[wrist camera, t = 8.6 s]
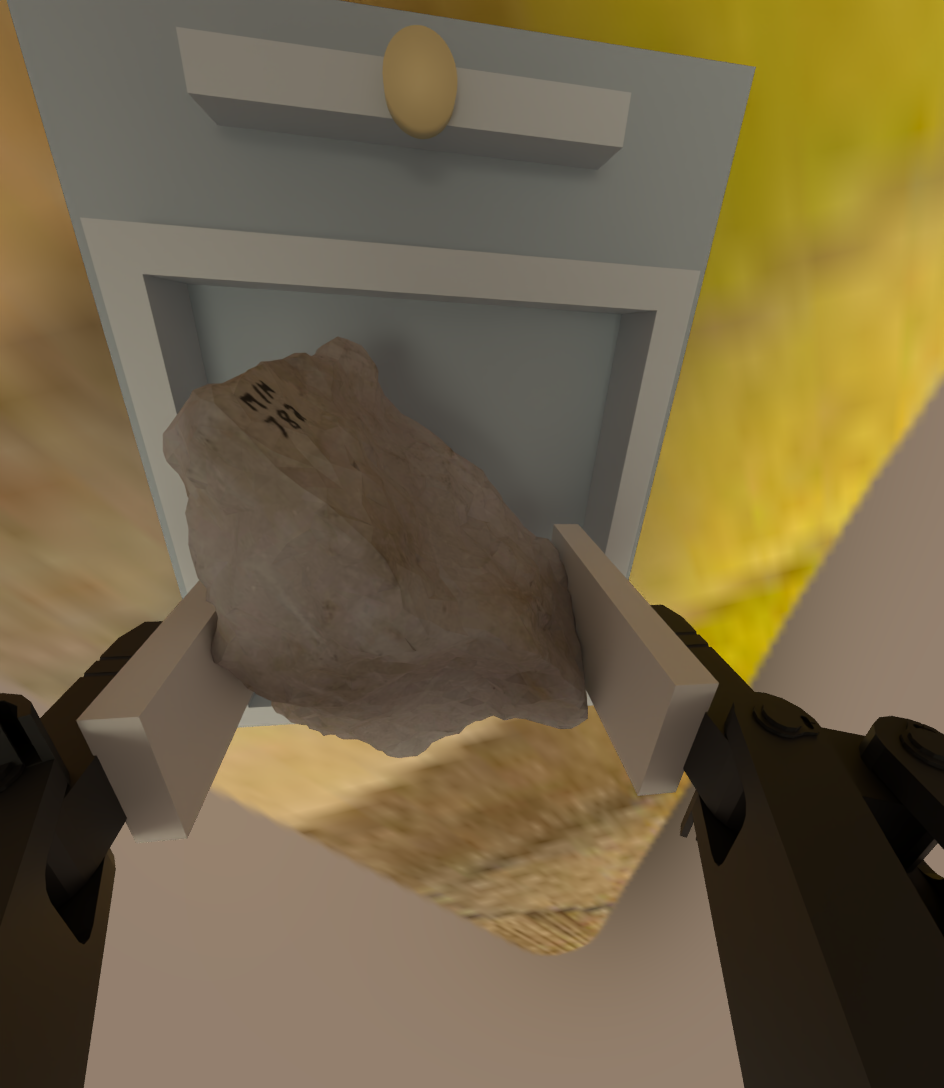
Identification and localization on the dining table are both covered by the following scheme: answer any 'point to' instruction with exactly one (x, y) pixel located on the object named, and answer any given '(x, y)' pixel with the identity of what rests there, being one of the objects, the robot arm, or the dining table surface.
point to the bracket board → (394, 227)
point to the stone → (366, 561)
